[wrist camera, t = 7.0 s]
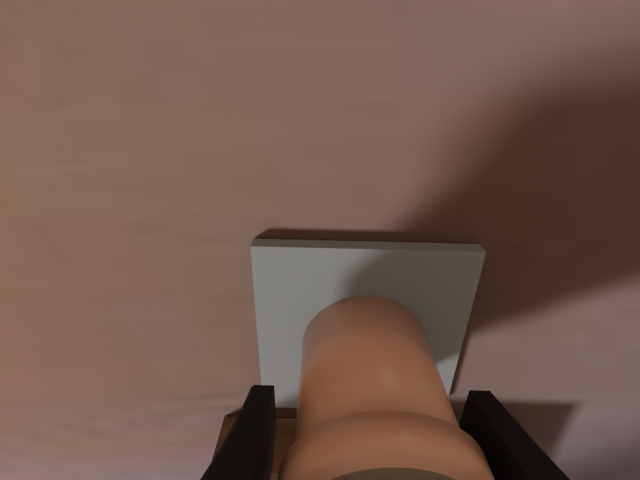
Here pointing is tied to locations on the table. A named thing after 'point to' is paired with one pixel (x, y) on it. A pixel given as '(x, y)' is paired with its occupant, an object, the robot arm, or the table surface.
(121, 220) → the table surface
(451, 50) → the table surface
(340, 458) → the flower pot
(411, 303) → the slate coaster
